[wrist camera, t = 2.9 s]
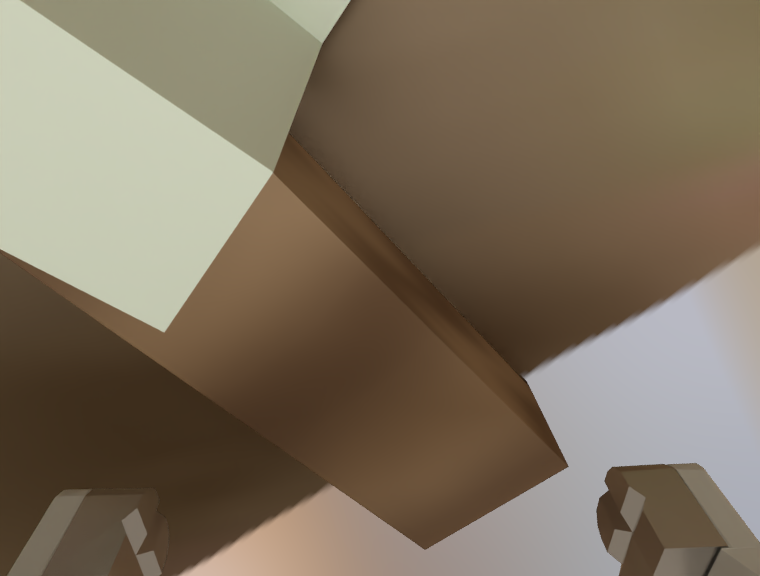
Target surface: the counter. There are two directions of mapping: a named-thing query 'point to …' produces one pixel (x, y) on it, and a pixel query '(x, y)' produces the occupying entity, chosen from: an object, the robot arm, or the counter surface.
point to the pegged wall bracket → (144, 134)
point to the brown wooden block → (348, 360)
